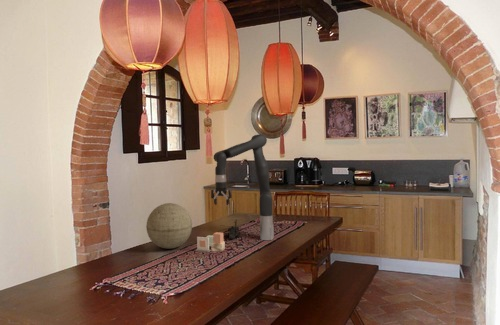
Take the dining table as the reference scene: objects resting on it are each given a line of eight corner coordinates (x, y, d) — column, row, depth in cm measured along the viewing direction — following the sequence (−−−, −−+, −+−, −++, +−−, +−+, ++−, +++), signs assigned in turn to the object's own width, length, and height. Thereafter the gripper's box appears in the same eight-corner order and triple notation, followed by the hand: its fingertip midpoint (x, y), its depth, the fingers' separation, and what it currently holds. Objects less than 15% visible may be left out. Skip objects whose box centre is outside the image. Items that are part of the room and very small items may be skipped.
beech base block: (224, 248, 268) (224, 241, 268) (221, 251, 261) (221, 244, 261) (214, 248, 270) (214, 240, 269) (211, 251, 263) (211, 243, 262)
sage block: (215, 243, 280) (214, 235, 280) (213, 245, 275) (213, 237, 275) (207, 243, 281) (207, 235, 280) (206, 245, 276) (206, 237, 275)
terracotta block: (223, 241, 267) (223, 232, 266) (220, 243, 262) (220, 234, 262) (216, 241, 268) (216, 232, 268) (213, 243, 264) (213, 233, 263)
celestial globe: (138, 248, 271) (136, 203, 270) (175, 240, 293) (174, 198, 291) (163, 257, 250) (162, 208, 249) (201, 247, 272) (200, 202, 270)
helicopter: (250, 237, 319) (250, 217, 320) (246, 240, 285) (246, 218, 287) (222, 236, 321) (222, 217, 322) (214, 240, 287) (215, 218, 289)
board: (210, 251, 262) (210, 237, 262) (208, 252, 259) (208, 238, 259) (197, 250, 265) (197, 236, 265) (195, 251, 262) (195, 237, 262)
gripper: (232, 180, 279) (233, 203, 280) (213, 180, 283) (214, 203, 284) (228, 181, 272) (229, 205, 273) (209, 181, 276) (209, 205, 277)
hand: (221, 204), depth 279 cm, fingers open, 8 cm apart
